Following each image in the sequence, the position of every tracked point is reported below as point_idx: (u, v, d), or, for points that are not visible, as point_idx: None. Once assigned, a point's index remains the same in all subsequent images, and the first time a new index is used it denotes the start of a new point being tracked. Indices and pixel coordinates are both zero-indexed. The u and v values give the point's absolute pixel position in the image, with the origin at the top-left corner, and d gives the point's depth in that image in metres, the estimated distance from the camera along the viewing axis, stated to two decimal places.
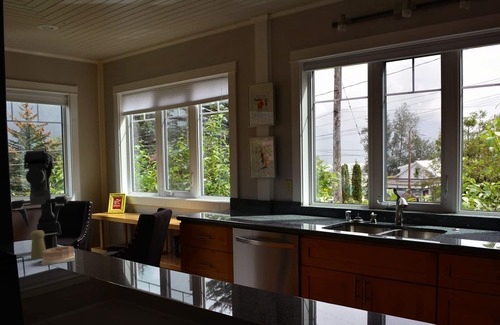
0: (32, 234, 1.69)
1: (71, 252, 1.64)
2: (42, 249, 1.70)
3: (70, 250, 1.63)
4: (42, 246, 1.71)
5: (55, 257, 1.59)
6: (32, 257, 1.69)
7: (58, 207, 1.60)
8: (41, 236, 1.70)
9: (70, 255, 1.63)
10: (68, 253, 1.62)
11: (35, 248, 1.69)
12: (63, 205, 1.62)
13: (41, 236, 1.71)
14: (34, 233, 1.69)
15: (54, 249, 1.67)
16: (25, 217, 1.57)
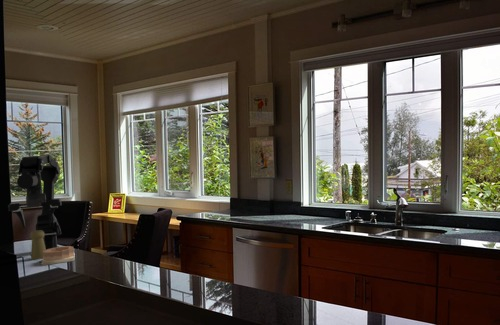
0: (32, 234, 1.69)
1: (71, 252, 1.64)
2: (42, 249, 1.70)
3: (70, 250, 1.63)
4: (42, 246, 1.71)
5: (55, 257, 1.59)
6: (32, 257, 1.69)
7: (53, 209, 1.71)
8: (41, 236, 1.70)
9: (70, 255, 1.63)
10: (68, 253, 1.62)
11: (35, 248, 1.69)
12: (57, 207, 1.73)
13: (41, 236, 1.71)
14: (34, 233, 1.69)
15: (54, 249, 1.67)
16: (22, 219, 1.68)
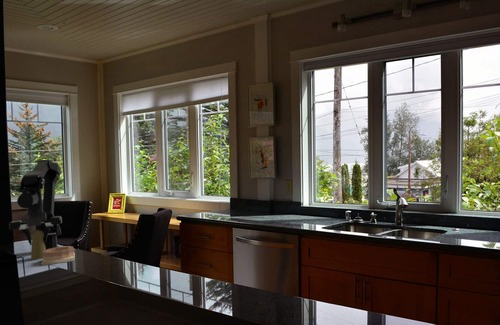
0: (32, 234, 1.69)
1: (71, 252, 1.64)
2: (42, 249, 1.70)
3: (70, 250, 1.63)
4: (42, 246, 1.71)
5: (55, 257, 1.59)
6: (32, 257, 1.69)
7: (48, 228, 1.71)
8: (41, 236, 1.70)
9: (70, 255, 1.63)
10: (68, 253, 1.62)
11: (35, 248, 1.69)
12: (52, 226, 1.73)
13: (41, 236, 1.71)
14: (34, 233, 1.69)
15: (54, 249, 1.67)
16: (28, 236, 1.69)
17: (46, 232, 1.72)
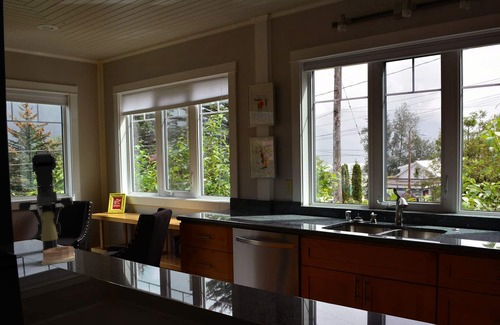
0: (42, 215, 1.64)
1: (71, 252, 1.64)
2: (52, 230, 1.65)
3: (70, 250, 1.63)
4: (52, 227, 1.65)
5: (55, 257, 1.59)
6: (42, 238, 1.64)
7: (58, 209, 1.66)
8: (51, 217, 1.65)
9: (70, 255, 1.63)
10: (68, 253, 1.62)
11: (45, 229, 1.64)
12: (63, 207, 1.68)
13: (52, 217, 1.65)
14: (44, 214, 1.64)
15: (54, 249, 1.67)
16: (38, 217, 1.64)
17: (57, 213, 1.66)
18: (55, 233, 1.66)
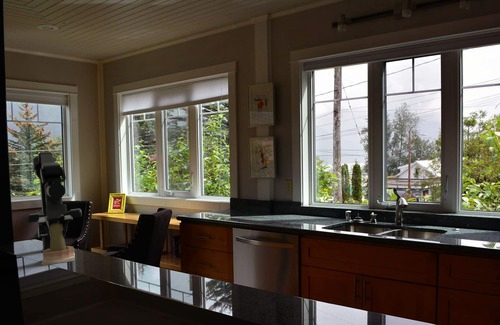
0: (51, 227, 1.62)
1: (71, 252, 1.64)
2: (61, 243, 1.63)
3: (70, 250, 1.63)
4: (61, 240, 1.63)
5: (55, 257, 1.59)
6: (51, 251, 1.62)
7: (67, 221, 1.63)
8: (60, 229, 1.63)
9: (70, 255, 1.63)
10: (68, 253, 1.62)
11: (54, 241, 1.62)
12: (72, 219, 1.65)
13: (61, 229, 1.63)
14: (53, 226, 1.62)
15: None
16: (47, 229, 1.62)
17: (66, 225, 1.64)
18: (64, 245, 1.64)
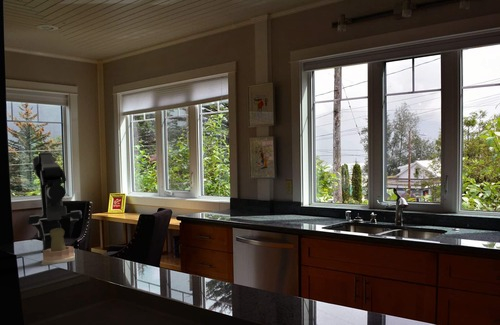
0: (52, 232, 1.62)
1: (71, 252, 1.64)
2: (62, 248, 1.63)
3: (70, 250, 1.63)
4: (62, 245, 1.63)
5: (55, 257, 1.59)
6: None
7: (73, 222, 1.64)
8: (61, 234, 1.63)
9: (70, 255, 1.63)
10: (68, 253, 1.62)
11: (55, 246, 1.62)
12: None
13: (61, 234, 1.63)
14: (54, 231, 1.62)
15: None
16: (41, 232, 1.61)
17: (72, 226, 1.65)
18: None
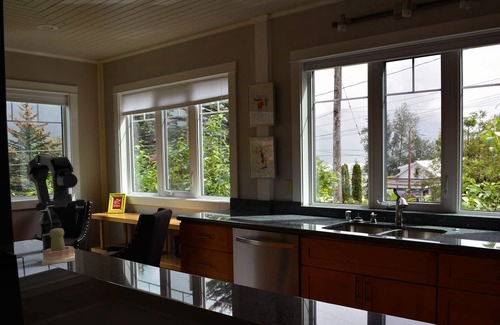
0: (52, 232, 1.62)
1: (71, 252, 1.64)
2: (62, 248, 1.63)
3: (70, 250, 1.63)
4: (62, 245, 1.63)
5: (55, 257, 1.59)
6: None
7: (78, 209, 1.74)
8: (61, 234, 1.63)
9: (70, 255, 1.63)
10: (68, 253, 1.62)
11: (54, 246, 1.62)
12: (83, 207, 1.76)
13: (61, 234, 1.63)
14: (54, 231, 1.62)
15: None
16: (48, 218, 1.72)
17: (77, 213, 1.75)
18: None
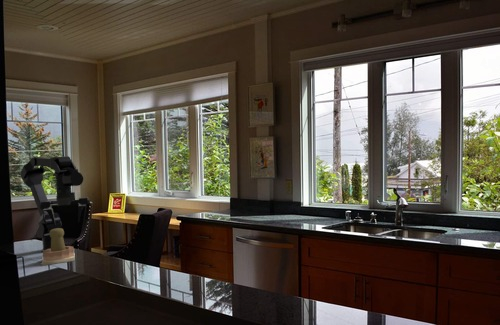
0: (52, 232, 1.62)
1: (71, 252, 1.64)
2: (62, 248, 1.63)
3: (70, 250, 1.63)
4: (62, 245, 1.63)
5: (55, 257, 1.59)
6: None
7: (81, 207, 1.78)
8: (61, 234, 1.63)
9: (70, 255, 1.63)
10: (68, 253, 1.62)
11: (54, 246, 1.62)
12: (85, 206, 1.80)
13: (61, 234, 1.63)
14: (54, 231, 1.62)
15: None
16: (52, 216, 1.75)
17: (80, 211, 1.79)
18: None
